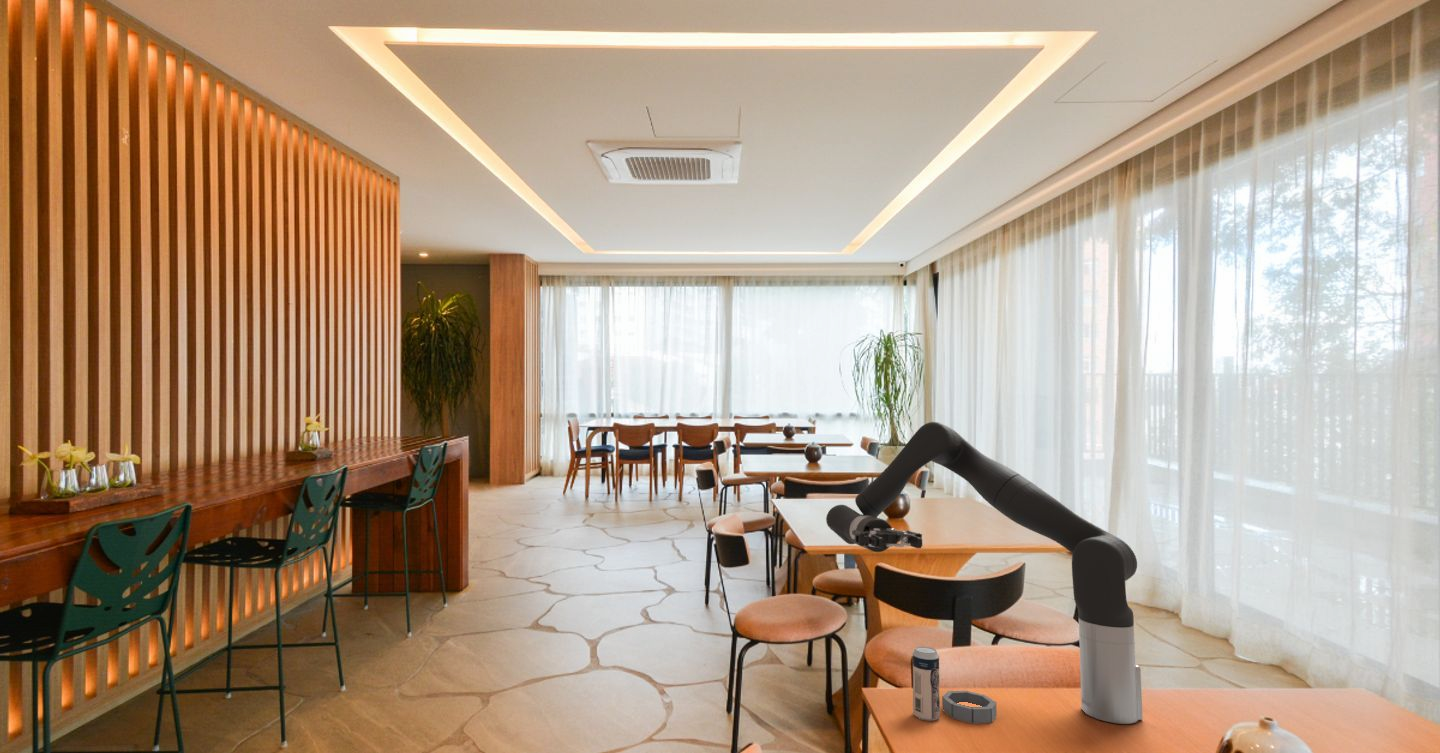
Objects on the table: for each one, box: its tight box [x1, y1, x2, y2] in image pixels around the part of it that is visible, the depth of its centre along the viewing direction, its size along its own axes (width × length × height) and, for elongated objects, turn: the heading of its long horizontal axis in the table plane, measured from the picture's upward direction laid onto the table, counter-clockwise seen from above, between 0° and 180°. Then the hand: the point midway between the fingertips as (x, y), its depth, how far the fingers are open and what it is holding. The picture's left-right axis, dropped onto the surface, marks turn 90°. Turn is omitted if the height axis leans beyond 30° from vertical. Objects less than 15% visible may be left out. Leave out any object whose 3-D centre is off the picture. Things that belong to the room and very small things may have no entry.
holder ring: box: [941, 690, 998, 725], centre depth 123 cm, size 9×9×2 cm
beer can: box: [912, 646, 941, 722], centre depth 121 cm, size 5×5×12 cm
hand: (900, 543), depth 134 cm, fingers open, 8 cm apart
